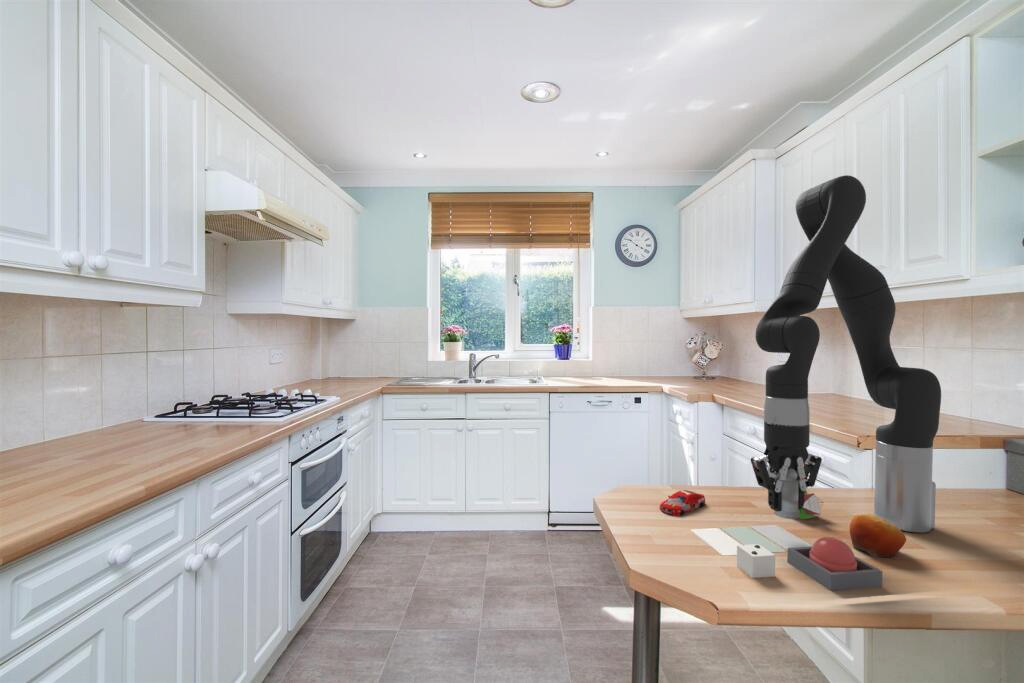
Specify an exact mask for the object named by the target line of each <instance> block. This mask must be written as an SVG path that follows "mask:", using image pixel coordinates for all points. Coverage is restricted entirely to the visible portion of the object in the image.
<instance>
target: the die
mask: <svg viewBox="0 0 1024 683" xmlns="http://www.w3.org/2000/svg"><path fill="white" fill-rule="evenodd" d="M736 566H737V567H738V568H739V569H740V570H742V571H743V572H744V573H746V574H747V575H748V576H750V577H751V578H752V579H756V578H757V579H758V578H770V577H771V578H772V577H776V554H775V553H771V552H770V551H768V550H767V549H765V548H764V547H762V546H761V545H759V544H751V545H743V544H741V545H737V555H736Z"/></svg>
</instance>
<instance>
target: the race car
mask: <svg viewBox="0 0 1024 683" xmlns="http://www.w3.org/2000/svg"><path fill="white" fill-rule="evenodd" d="M704 506H706V498H705V495H704V494H703V493H700V492H696V491H691V490H687V489H683V490H682V489H681V490H678V491H676V492H675V493H673V494H672V495H667V499H665V500H664V501H662V502H661V503H660V504H659V510H660V512H662V513H663V514H666V515H670V516H675V517H676V516H677V517H680V516H683V515H686V514H688V513H689V512H691V511H694V510H697V509H699V508H702V507H704Z"/></svg>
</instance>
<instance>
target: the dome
mask: <svg viewBox="0 0 1024 683" xmlns="http://www.w3.org/2000/svg"><path fill="white" fill-rule="evenodd" d="M855 557H856V556H855V553H854V552H853V550H852V549H851V548H850V546H849V545H848V544H846V543H845V542H844V541H842V540H841V539H839V538H836V537H831V536H830V537H829V536H827V537H820V538H818V539H817V540H816V541H814V542H813V543H812V548H811V550H810V554H809V559H810V560H812V561H814V562H815V563H817V564H819V565H820V566H822V567H823V568H825V569H827V570H828V571H830V572H844V571H857V561H856V560H855Z"/></svg>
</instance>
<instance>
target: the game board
mask: <svg viewBox="0 0 1024 683" xmlns="http://www.w3.org/2000/svg"><path fill="white" fill-rule="evenodd" d="M690 531H691V532H692V533H693V534H695V535H696V536H697V537H699V539H701V540H702V541H703V542H705V543H706V544H707V545H709V546H710V547H711V548H713V549H714V550H715V551H716V552H718V553H719V554H720V555H721V556H723V557H725V556H737V545H751V544H759V545H761V546H762V547H764V548H765V549H767V550H768V551H770V552H771V553H773V554H775V553H786V552H787V553H788V548H797V547H812V546H813V544H810V543H808V542H806V541H805V540H803V539H801V538H799V537H798V536H796V535H795V534H793V533H791V532H789V531H787V530H785V529H784V528H782V527H780V526H779V525H777V524H771V525H770V524H769V525H766V524H765V525H752V526H733V527H731V526H730V527H729V526H727V527H719V528H718V527H714V528H710V527H709V528H695V529H693V528H692V529H690Z"/></svg>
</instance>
